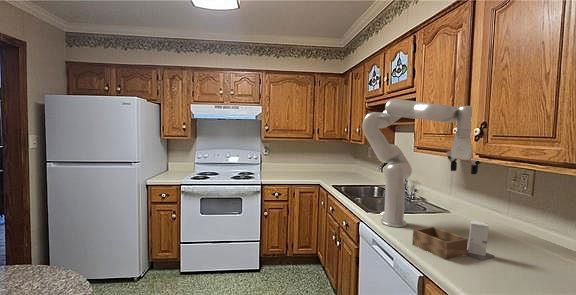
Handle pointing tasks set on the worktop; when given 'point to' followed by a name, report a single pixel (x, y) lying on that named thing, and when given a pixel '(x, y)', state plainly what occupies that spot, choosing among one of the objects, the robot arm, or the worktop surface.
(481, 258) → the mat
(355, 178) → the worktop surface
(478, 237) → the skincare box
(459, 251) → the crate
